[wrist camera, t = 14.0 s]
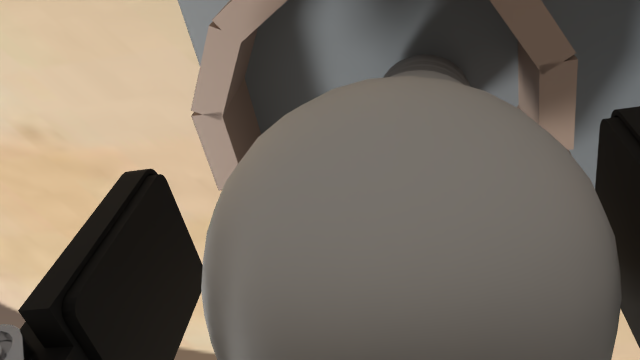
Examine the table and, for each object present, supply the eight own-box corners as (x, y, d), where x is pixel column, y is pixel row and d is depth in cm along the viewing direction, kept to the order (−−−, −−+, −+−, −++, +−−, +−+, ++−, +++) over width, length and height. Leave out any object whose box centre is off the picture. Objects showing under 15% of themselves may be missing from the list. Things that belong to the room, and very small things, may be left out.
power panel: (1161, -285, 10) (1664, -356, 6) (952, 154, 16) (1154, 273, 12) (170, -66, 15) (84, -22, 11) (264, 223, 20) (231, 328, 16)
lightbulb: (310, -23, 14) (45, 205, 5) (558, -30, 13) (806, 259, 4) (325, 177, 17) (177, 543, 8) (526, 187, 16) (618, 638, 7)
